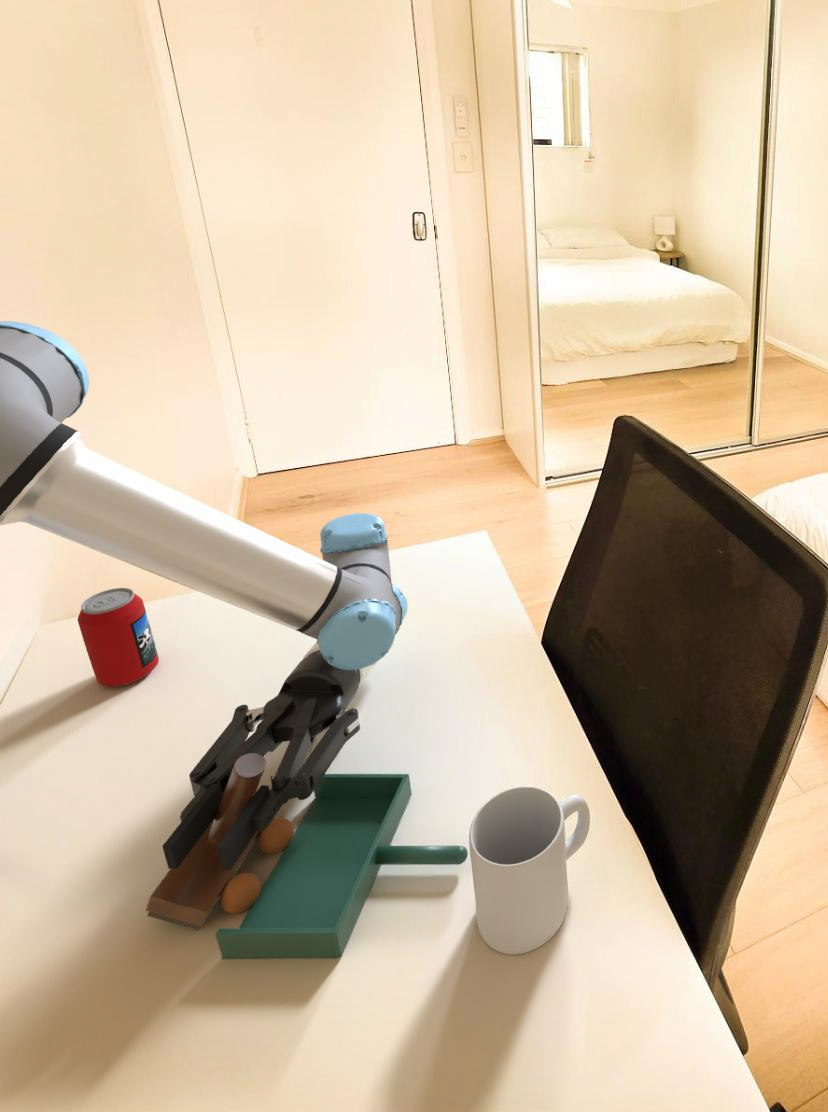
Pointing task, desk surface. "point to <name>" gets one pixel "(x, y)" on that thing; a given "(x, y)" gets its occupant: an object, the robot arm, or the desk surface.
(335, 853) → the dustpan
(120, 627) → the beverage can
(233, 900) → the brown egg
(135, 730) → the desk surface
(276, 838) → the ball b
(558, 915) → the mug
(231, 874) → the brush
